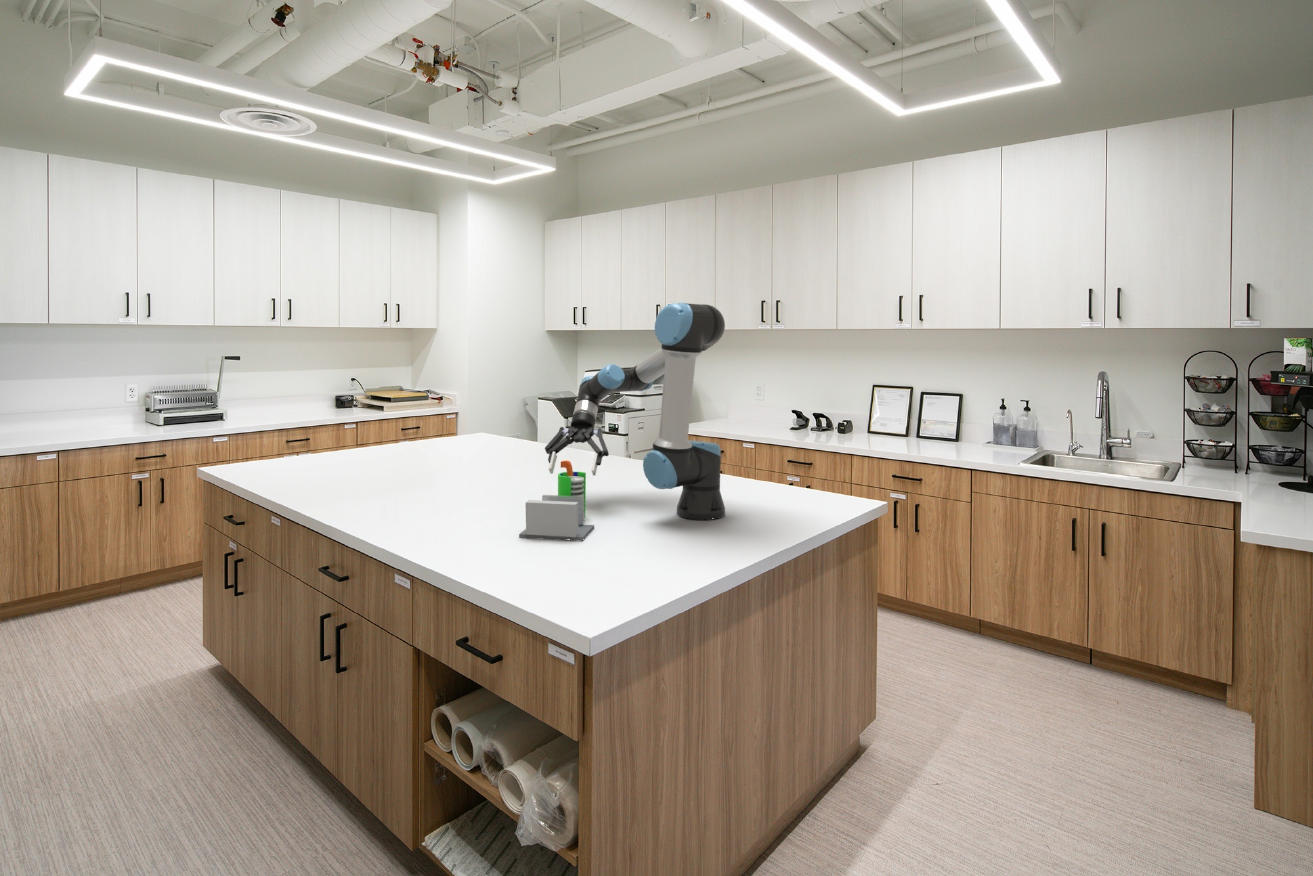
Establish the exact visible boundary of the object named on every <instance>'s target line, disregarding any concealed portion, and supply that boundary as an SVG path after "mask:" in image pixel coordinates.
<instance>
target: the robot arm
mask: <svg viewBox="0 0 1313 876" xmlns="http://www.w3.org/2000/svg"><path fill="white" fill-rule="evenodd" d="M725 329H726V322H725V318H724V316H723V314H722V313H721V311H720V310H719V309H718V308H716V307H715V306H713V305H710V304H706V303H705V304H703V303H701V304H700V303H686V302H677V303H676V302H675V303H674V302H673V303H669V304H667V305H665V306H664V307H663V308H662V309H660V310H659V312H658V313H657V316H656V319H655V322H654V334H655V336H656V339H657V341H658V342H659V343H660V344H661V347H660V348H658V349H657V350H656V351H654V352H653V353H651V354H650V355H649V356H647V357H646V358H644V359H643V360H642V361H640V362H639V363H638V364H636V365H635V366H633V367H631V368H621V367H620V366H619V365H617V364H614V363H611V364H610V363H609V364H607V365H606V366H605V367H604V366H603V367H602V368H601V369H600V370H599V371H598V372H597V373H596V374H595V375H589V376H585V377H584V378H582V379H581V383H580V385H579V387H578V393H577V397H576V402H575V406H574V409H573V410H574V411H573V415H572V419H571V422H570V426H569V428H564V426H560V427H559V430H558V432H557V433H556V434H555V436H553V438H552V439H551V440H550V441H549V442H548V443H547V445H545V447H544V450H545V453H546V454H547V455H548V457H547V458H548V459H547V460H548V464H549V465H548V471H549V474H551V475H552V474H554V470H555V466H556V462H557V458H558V456H557V454H558V453H560V452H561V451H563V450H564V449H565V448H567V447H568V446H569V445H571V444H573V443H576V444H577V443H582V444H585V443H586V442H587V444H588V445H589V446H590V447H591V448H592V450H593V451H594V457H593V460H592V461H593V462H592V467H591V473H592V476H596V474H597V470H598V466H601V465H602V460H603V457H608V456H609V455H610V453H609V451H608V446H607V445H606V442H605V440H604V437H603V435H604V434H603V431H602V430H603V429H602V428H601V427H598V428H597V429H595V425H596V419H597V414H598V411H599V406H600V402H601V401H602V400H603V399H605V398H607V396H608V395H610V394H611V393H622V392H643V391H647V390H649V389H651V388H652V387H653V385H654V383H655V381H656V380H657V379H659V378H660V377H661V376H663V384H662V394H661V396H662V398H661V405H660V406H661V408H660V418H659V420H660V421H659V431H658V432H659V433H658V436H657V438H655V439H653V442H652V450H651V451H648V452H647V453H646V455H645V456H644V458H643V460H642V461H643V462H642V468H643V474H644V476H645V478H646V479H647V482H648V483H649V484H651V486H652V487H653V488H656V489H658V490H672V489H674V488H679V487H682V491H681V493H680V497H679V500H678V502H677V506H676V515H677V516H678V515H679V516H678V517H681V518H684V519H687V518H690V519H689V520H695V519H697V520H698V521H699V520H700V519H702V520H700V521H705V520H704V519H711V520H713V519H712V518H718V519H720V518H719V517H721V518H723V517H725V516H726V507H725V503H724V500H723V497H722V494H721V464H722V463H721V460H722V455H721V446H720V445H719V444H718V443H715V442H709V441H700V440H699V441H698V440H689V432H690V431H689V430H690V421H691V420H690V419H691V418H690V417H691V408H692V399H693V390H694V378H695V367H696V359H697V357H698V356H700V355H701V354H702V352H705V351H707V350H708V349H709V348H711V347H713V346H715V344H717V343H718V342H719V341H720V339H721V338H722V337H723V335H724V333H725ZM594 436H596V437H597V438H598V440H599V443H600V445H601V448H600V447H599V446H598V444H597V443H596V442H595V441H594V440H593V438H592V437H594ZM724 515H725V516H724ZM722 516H723V517H722ZM697 520H696V521H697Z"/></svg>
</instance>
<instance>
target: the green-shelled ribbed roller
mask: <svg viewBox="0 0 1313 876" xmlns="http://www.w3.org/2000/svg"><path fill="white" fill-rule="evenodd" d="M560 468H563V469H566V471H563V472H559V473H557V474H558V475H557V495H560V496H583V497H584V521H585V518H586V501H587V500H586V498H587V497H586V492H587V489H586V487H587V485H586V484H587V483H586V481H587V480H586V479H587V475H586V474H587V473H586V472H584V471H573V465H572V462H571V461H570V460H562V461H560Z"/></svg>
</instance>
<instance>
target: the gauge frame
mask: <svg viewBox="0 0 1313 876" xmlns="http://www.w3.org/2000/svg"><path fill="white" fill-rule="evenodd" d="M594 529H595V524H583V525H578V502H563V501H542V500H539V499H538V500H537V499H529V500H527V501H526V502H525V528H524V530H523V531H521V532H520V533H519V534H518V538H520V539H535V538H543V539H542V540H554V539H570V540H569V541H573V540H582V541H581V542H584V540H585V539H586V538H587V537H588V536H589V535H590V534H591V532H592V531H593V530H594ZM589 533H590V534H589ZM588 534H589V535H588ZM586 536H587V537H586ZM583 539H584V540H583Z"/></svg>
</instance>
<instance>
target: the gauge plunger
mask: <svg viewBox="0 0 1313 876" xmlns="http://www.w3.org/2000/svg"><path fill="white" fill-rule="evenodd" d="M541 497H542V498H541V501H563V502H578V525H585V520H584V497H583V496H560V495H558V494H557V495H556V494H543V495H542V496H541Z"/></svg>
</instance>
